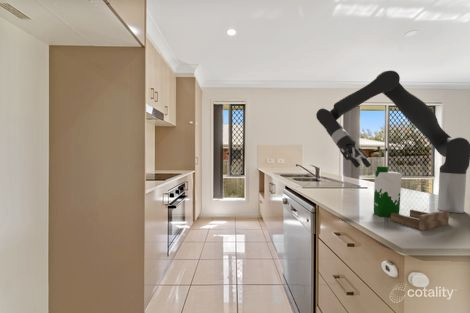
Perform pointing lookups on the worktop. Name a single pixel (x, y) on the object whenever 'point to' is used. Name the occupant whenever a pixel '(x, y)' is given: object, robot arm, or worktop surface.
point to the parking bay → (422, 219)
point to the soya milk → (387, 192)
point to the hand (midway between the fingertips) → (364, 166)
